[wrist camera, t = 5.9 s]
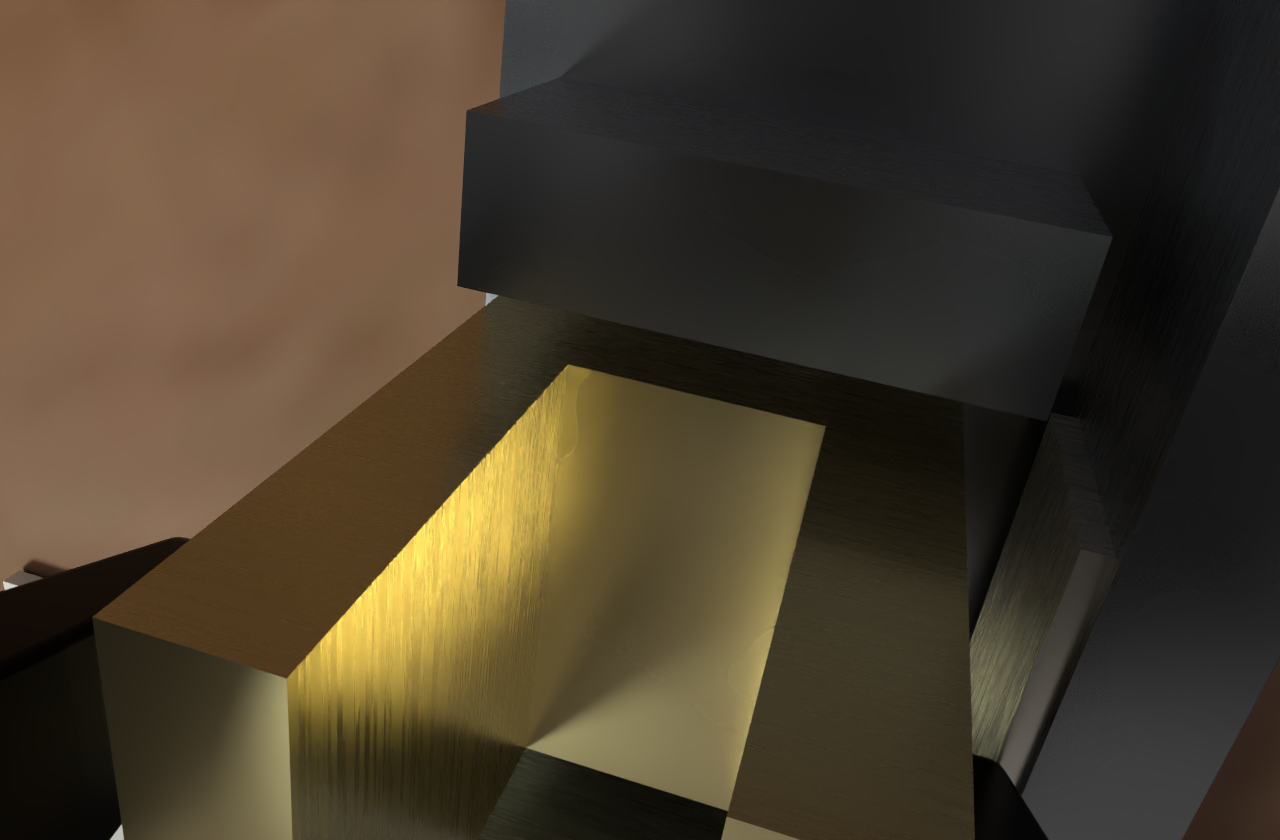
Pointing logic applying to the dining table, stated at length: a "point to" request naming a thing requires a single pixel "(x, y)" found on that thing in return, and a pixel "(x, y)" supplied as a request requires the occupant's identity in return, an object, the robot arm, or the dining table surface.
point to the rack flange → (952, 325)
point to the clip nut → (566, 602)
